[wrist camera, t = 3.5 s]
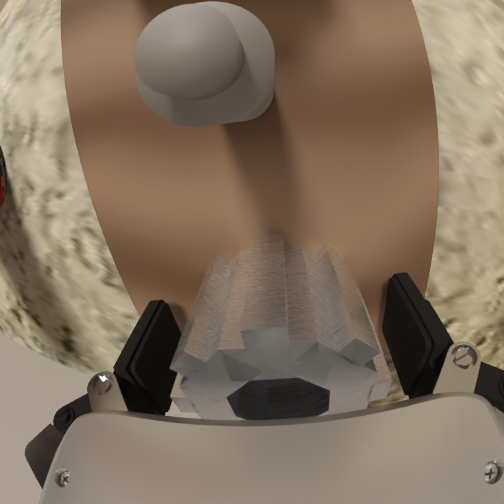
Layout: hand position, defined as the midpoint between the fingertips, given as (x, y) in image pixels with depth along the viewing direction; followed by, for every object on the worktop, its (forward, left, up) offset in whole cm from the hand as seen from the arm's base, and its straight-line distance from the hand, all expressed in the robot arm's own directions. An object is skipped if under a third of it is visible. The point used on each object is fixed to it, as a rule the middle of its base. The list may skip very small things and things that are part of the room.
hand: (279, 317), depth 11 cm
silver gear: (0, 0, -1) cm, 1 cm away
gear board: (-9, 0, -2) cm, 9 cm away
